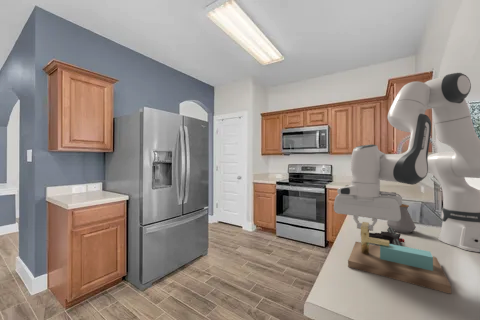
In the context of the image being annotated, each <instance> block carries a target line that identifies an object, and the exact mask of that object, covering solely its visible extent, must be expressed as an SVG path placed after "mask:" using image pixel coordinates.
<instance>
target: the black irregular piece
mask: <svg viewBox="0 0 480 320" xmlns="http://www.w3.org/2000/svg"><path fill="white" fill-rule="evenodd" d="M401 235H402V234H399V233H397V232H396V231H394V230H393V229H392V227H389V226H388V228H387V229H386V231H380V232H369V237H372V238H378V239H383V240H389V244H393V245H398V246H403V244H402V243H405V242H406V241H405V239H404V238H403V237H402V238H401Z"/></svg>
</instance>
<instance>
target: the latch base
mask: <svg viewBox="0 0 480 320" xmlns="http://www.w3.org/2000/svg"><path fill="white" fill-rule="evenodd" d="M432 257H433V271H431V270H426V269H422V268H418V267H413V266H409V265H404V264H400V263H396V262H391V261H387V260H382V259H380V245H377V244H376V245H375V244H372V243H369V254H365V253H362V252H361V241H355V243H354V245H353V248H352V249H351V252H350V254H349V258H348V260H347V267H348V268H352V269H355V270H358V271H359V270H360V271H363V272H365V273H371V274H373V275H378V276H382V277H385V278H386V277H387V278H390V279H393V280H398V281H401V282H404V283H407V284H412V285H416V286H420V287H424V288H427V289H430V288H431V290H434V289H435V291H438V290H439V291H438V292H442V291H443V292H442V293H446V294H449V293H450V294H452V286H451V283H450V281H449V279H448V277H447V275H446V273H445V272H444V270H443V268H442V266H441V264H440V261H439V260H438V258H437V257H436V256H432Z"/></svg>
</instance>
